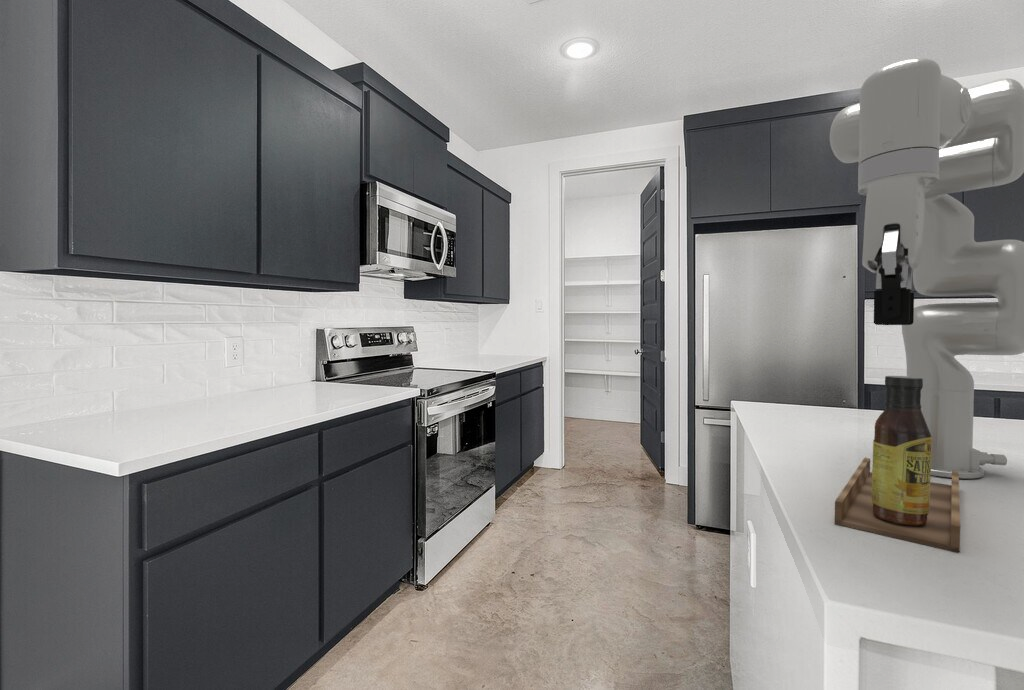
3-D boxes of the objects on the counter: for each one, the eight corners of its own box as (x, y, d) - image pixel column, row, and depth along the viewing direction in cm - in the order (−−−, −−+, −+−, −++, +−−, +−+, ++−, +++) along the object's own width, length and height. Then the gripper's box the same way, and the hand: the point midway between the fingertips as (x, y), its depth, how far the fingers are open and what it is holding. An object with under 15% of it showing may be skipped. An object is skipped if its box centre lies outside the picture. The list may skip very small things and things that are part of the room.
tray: (864, 474, 87) (864, 457, 87) (958, 490, 79) (958, 471, 79) (834, 523, 66) (834, 501, 65) (959, 552, 57) (960, 526, 57)
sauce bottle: (914, 532, 61) (917, 379, 61) (861, 515, 67) (863, 375, 66) (939, 522, 64) (942, 377, 64) (886, 507, 70) (888, 373, 69)
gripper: (867, 196, 65) (865, 325, 66) (846, 164, 53) (844, 324, 53) (940, 184, 60) (937, 324, 61) (937, 146, 48) (933, 324, 48)
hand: (894, 323), depth 57 cm, fingers open, 6 cm apart
